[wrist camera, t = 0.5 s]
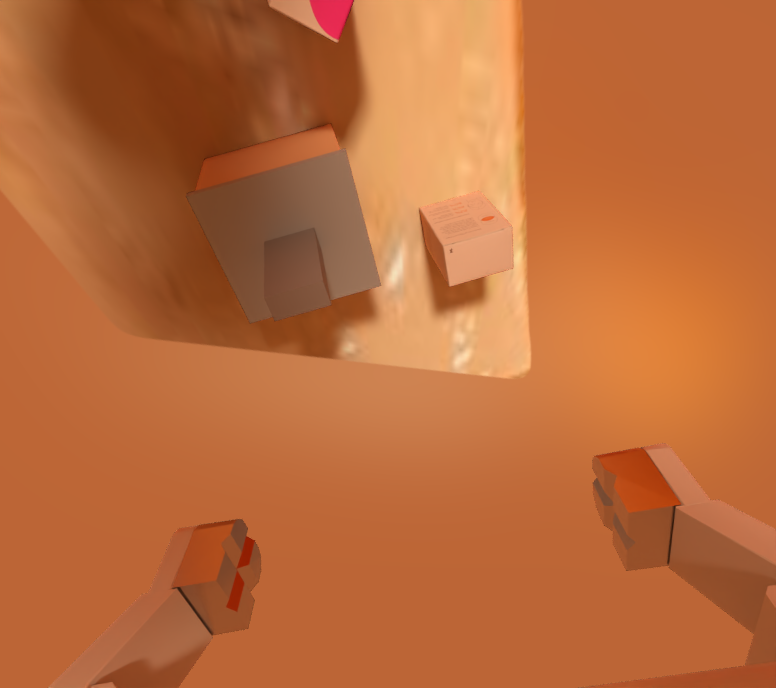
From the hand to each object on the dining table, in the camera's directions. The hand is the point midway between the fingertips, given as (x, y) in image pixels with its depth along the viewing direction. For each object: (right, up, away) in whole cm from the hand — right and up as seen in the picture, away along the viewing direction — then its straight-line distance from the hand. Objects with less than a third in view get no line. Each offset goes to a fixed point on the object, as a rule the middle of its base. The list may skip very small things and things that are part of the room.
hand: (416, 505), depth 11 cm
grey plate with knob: (-10, +14, +38) cm, 42 cm away
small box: (+7, +20, +51) cm, 55 cm away
